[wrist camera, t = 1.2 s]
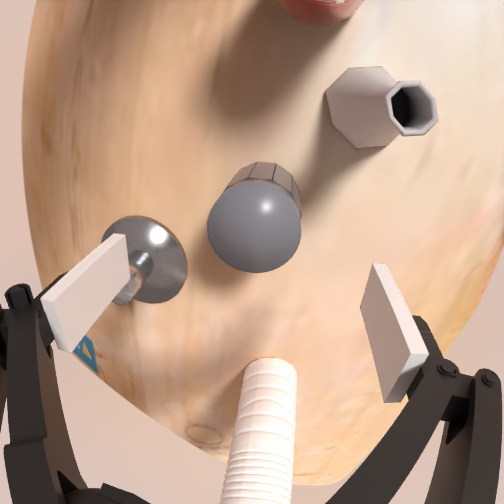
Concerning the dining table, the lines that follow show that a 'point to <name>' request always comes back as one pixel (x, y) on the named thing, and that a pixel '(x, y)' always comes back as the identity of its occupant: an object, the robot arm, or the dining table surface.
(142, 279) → the round base
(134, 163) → the dining table surface
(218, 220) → the grey domed cylinder
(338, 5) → the soda can
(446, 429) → the robot arm
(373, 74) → the flask
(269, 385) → the water bottle
